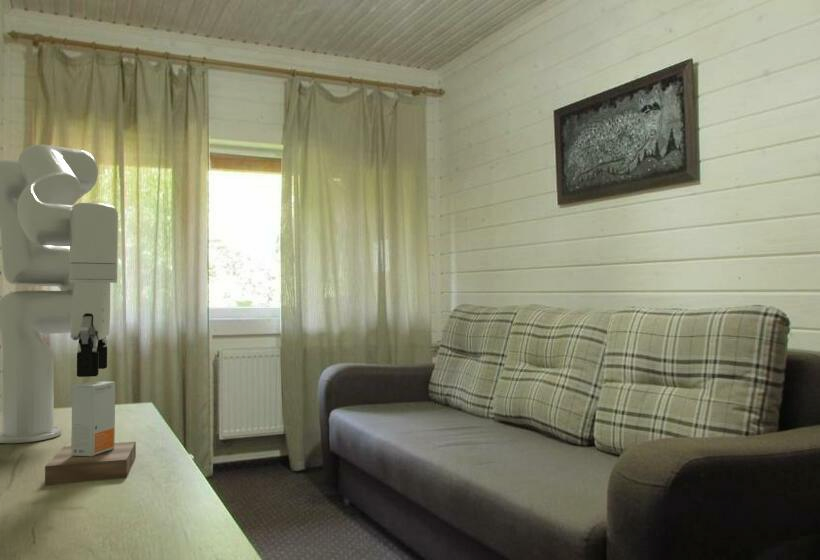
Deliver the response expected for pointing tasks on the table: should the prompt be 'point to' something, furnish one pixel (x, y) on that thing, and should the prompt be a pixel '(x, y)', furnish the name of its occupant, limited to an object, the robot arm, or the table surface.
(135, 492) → the table surface
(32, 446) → the table surface
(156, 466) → the table surface
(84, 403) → the skincare box
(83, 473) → the block
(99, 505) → the table surface
